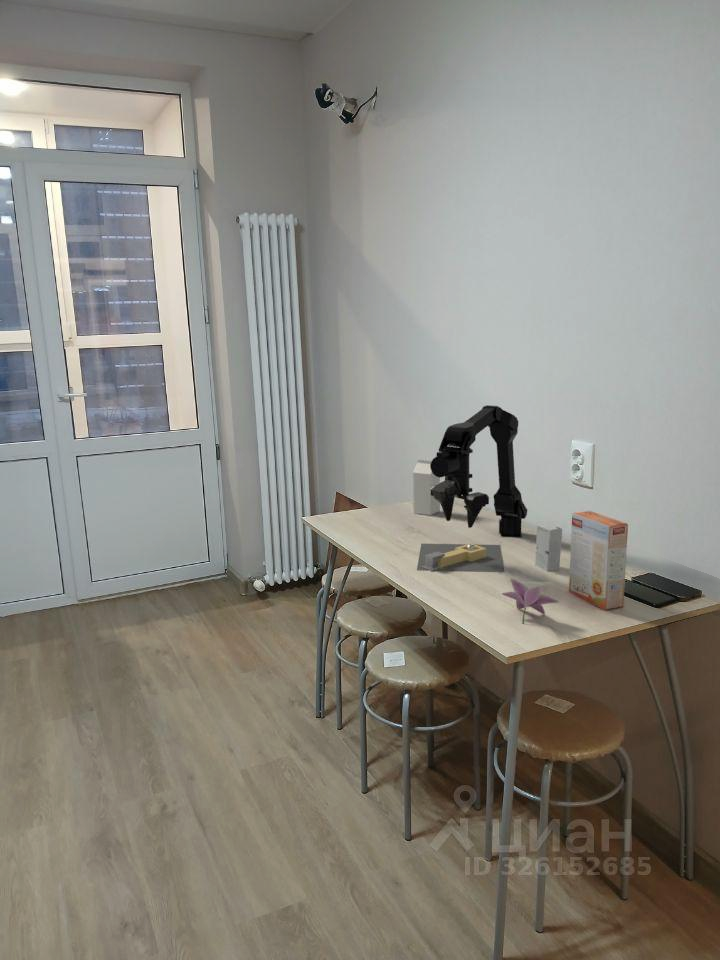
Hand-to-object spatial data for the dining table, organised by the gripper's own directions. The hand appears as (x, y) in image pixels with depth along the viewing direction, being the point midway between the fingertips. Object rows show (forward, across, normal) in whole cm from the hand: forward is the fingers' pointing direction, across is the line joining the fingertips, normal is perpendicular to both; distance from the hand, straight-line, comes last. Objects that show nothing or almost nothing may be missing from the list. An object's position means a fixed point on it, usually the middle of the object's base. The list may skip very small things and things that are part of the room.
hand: (459, 524), depth 215 cm
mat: (+11, -1, +2) cm, 11 cm away
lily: (+11, +41, -16) cm, 45 cm away
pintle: (+10, 0, +4) cm, 11 cm away
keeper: (+10, +1, -11) cm, 15 cm away
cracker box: (+11, +44, +6) cm, 45 cm away
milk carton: (+11, -47, +27) cm, 56 cm away
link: (+10, +1, -1) cm, 11 cm away
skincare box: (+11, +21, +14) cm, 27 cm away
